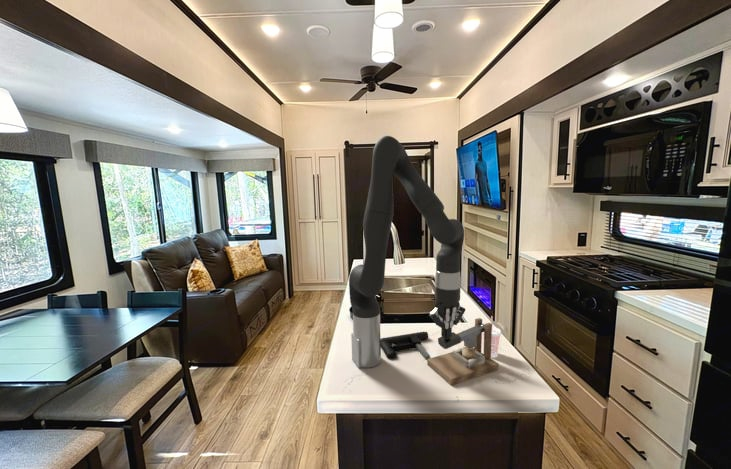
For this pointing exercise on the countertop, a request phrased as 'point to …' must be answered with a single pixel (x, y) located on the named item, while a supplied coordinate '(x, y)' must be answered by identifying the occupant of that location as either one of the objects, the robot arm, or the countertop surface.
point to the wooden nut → (468, 353)
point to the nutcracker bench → (462, 369)
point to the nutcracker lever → (462, 337)
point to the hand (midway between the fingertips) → (446, 338)
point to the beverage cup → (494, 340)
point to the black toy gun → (413, 343)
